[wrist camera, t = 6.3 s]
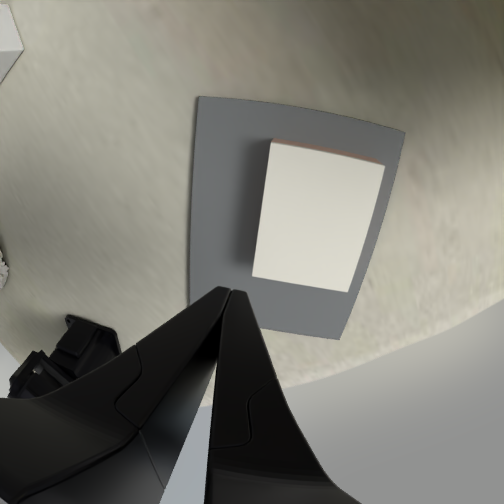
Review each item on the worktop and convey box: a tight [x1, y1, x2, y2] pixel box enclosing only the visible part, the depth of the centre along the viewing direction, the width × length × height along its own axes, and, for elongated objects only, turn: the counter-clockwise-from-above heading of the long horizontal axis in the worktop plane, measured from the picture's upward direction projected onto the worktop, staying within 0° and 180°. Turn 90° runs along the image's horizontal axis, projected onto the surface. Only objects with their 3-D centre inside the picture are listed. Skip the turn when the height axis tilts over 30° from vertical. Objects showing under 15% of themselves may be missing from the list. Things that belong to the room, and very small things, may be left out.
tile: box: [252, 138, 385, 292], centre depth 17 cm, size 8×2×6 cm
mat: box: [190, 96, 405, 340], centre depth 19 cm, size 16×12×1 cm
